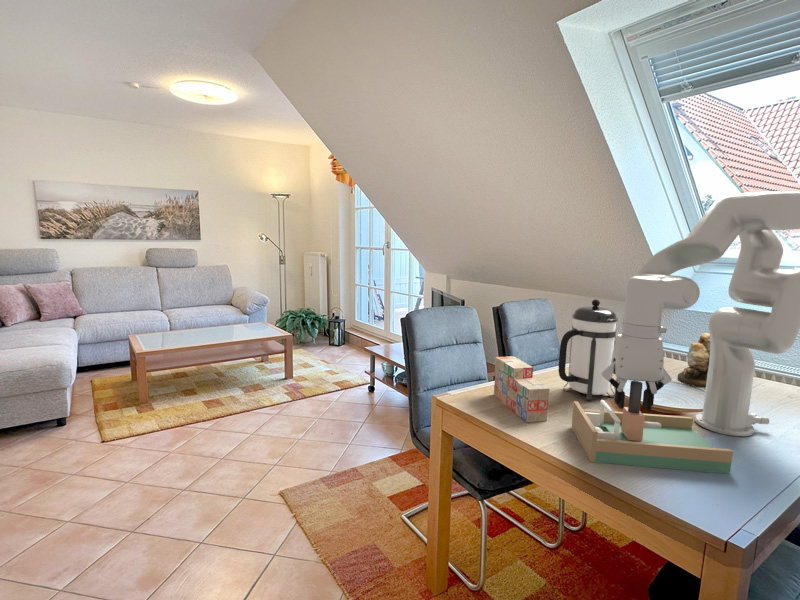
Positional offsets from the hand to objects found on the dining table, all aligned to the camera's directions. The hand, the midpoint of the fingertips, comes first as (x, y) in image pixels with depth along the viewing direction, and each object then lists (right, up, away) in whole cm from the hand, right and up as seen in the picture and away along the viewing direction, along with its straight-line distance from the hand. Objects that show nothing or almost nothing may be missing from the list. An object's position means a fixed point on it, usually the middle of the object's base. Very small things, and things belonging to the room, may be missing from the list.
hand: (633, 406), depth 104 cm
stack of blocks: (-20, -6, +25) cm, 33 cm away
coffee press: (+4, -5, +36) cm, 36 cm away
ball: (-8, -7, +2) cm, 11 cm away
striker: (+3, -7, +1) cm, 8 cm away
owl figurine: (+50, -3, +52) cm, 72 cm away
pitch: (+3, -10, +1) cm, 10 cm away
